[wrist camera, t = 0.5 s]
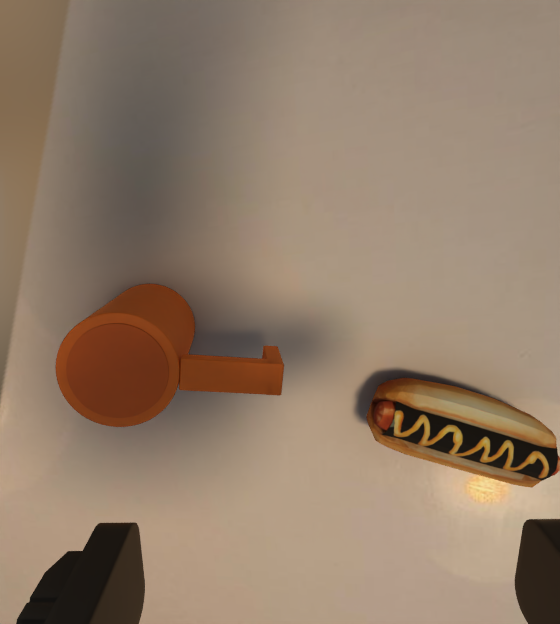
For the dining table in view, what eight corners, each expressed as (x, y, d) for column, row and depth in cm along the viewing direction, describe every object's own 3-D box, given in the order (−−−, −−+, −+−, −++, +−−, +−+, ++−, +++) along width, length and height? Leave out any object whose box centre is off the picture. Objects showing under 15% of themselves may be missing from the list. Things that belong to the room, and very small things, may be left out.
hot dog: (373, 353, 32) (398, 378, 27) (536, 404, 34) (586, 436, 29) (348, 417, 33) (368, 452, 28) (509, 463, 35) (553, 503, 30)
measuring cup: (106, 364, 30) (54, 425, 22) (108, 280, 29) (54, 308, 20) (265, 373, 32) (277, 434, 23) (272, 292, 30) (288, 324, 22)
